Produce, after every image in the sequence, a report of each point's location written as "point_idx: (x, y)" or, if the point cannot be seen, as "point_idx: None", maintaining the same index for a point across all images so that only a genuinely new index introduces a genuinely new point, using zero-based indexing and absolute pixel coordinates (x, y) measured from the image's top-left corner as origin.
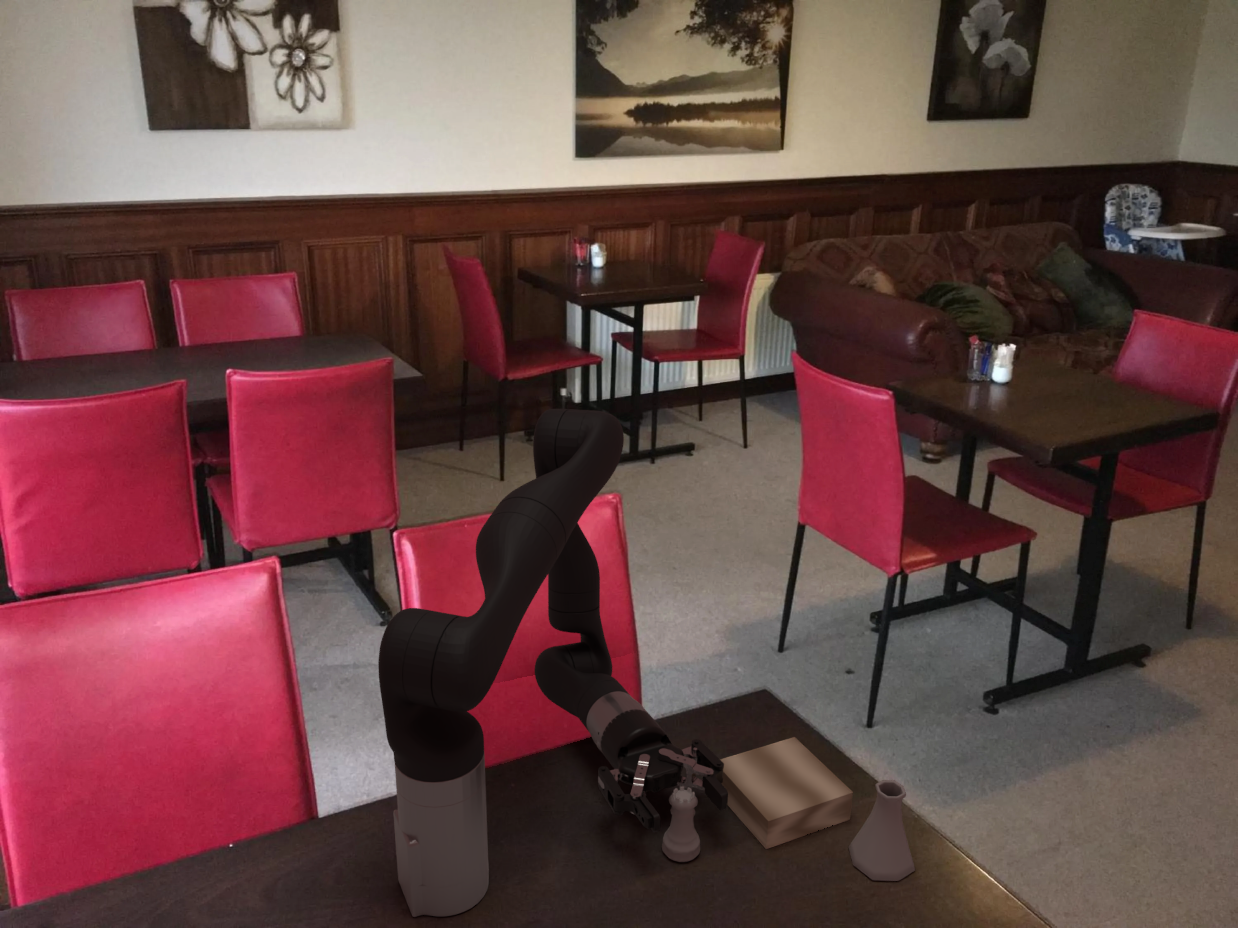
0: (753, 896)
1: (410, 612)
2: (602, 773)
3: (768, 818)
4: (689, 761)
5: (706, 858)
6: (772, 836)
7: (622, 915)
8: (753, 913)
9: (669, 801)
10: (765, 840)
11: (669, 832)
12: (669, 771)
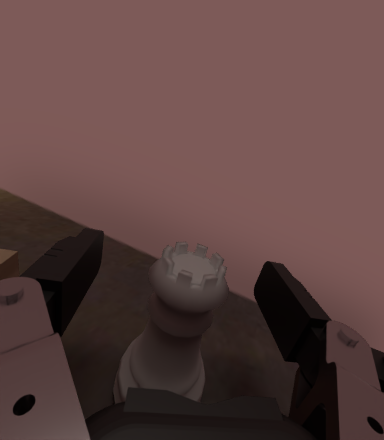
0: (126, 267)
1: None
2: None
3: (8, 254)
4: (21, 366)
5: (128, 341)
6: None
7: None
8: (144, 257)
9: (228, 292)
10: None
11: (198, 359)
12: (171, 412)
